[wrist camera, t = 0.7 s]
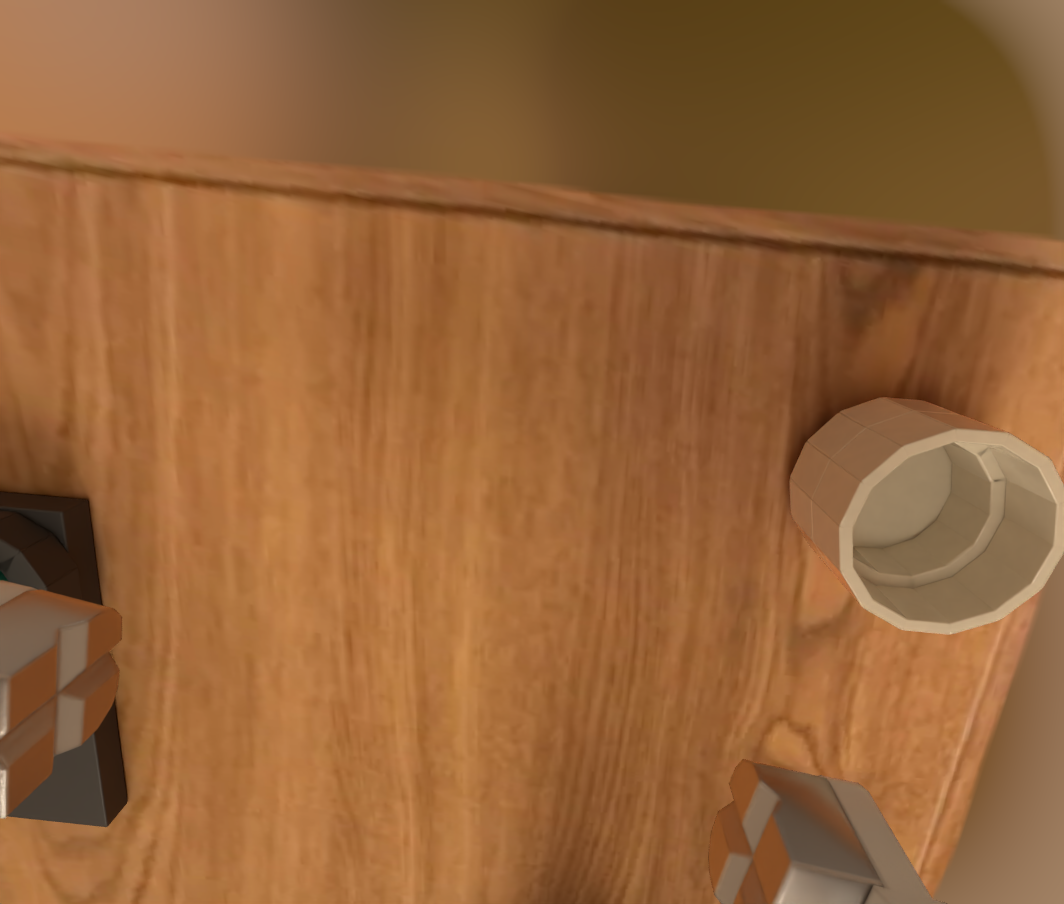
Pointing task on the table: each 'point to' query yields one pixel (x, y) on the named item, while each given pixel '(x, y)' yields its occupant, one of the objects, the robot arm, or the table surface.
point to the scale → (70, 569)
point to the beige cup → (928, 513)
